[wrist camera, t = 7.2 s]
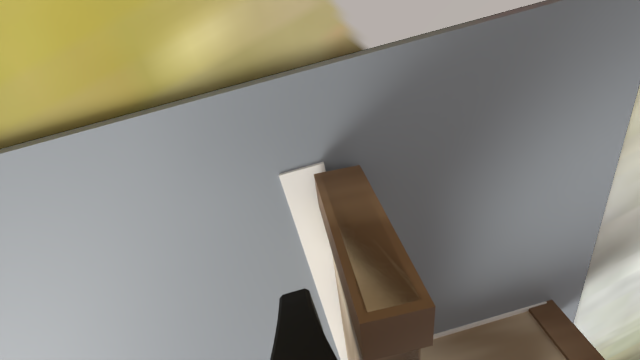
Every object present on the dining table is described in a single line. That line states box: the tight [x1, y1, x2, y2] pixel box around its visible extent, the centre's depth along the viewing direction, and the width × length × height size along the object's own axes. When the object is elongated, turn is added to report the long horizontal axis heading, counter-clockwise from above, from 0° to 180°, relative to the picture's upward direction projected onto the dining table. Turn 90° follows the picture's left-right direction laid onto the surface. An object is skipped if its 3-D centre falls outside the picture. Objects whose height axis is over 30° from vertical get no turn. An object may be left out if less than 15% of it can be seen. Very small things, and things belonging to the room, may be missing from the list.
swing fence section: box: [314, 165, 436, 360], centre depth 11 cm, size 10×1×5 cm, turn 7°
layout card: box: [0, 0, 640, 360], centre depth 15 cm, size 24×20×1 cm
